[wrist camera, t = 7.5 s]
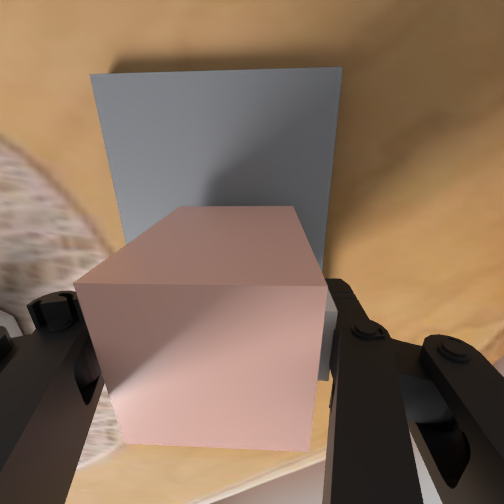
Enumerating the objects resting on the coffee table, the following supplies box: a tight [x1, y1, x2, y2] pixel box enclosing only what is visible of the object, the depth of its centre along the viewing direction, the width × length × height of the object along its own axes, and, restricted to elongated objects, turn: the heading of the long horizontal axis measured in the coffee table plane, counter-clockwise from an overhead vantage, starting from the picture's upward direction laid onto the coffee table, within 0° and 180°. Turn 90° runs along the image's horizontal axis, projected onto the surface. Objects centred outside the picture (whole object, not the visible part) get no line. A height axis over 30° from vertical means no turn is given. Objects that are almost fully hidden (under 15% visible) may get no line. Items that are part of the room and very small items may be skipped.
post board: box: [90, 67, 343, 272], centre depth 14 cm, size 12×18×6 cm, turn 1°
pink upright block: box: [73, 206, 328, 452], centre depth 11 cm, size 6×6×8 cm
